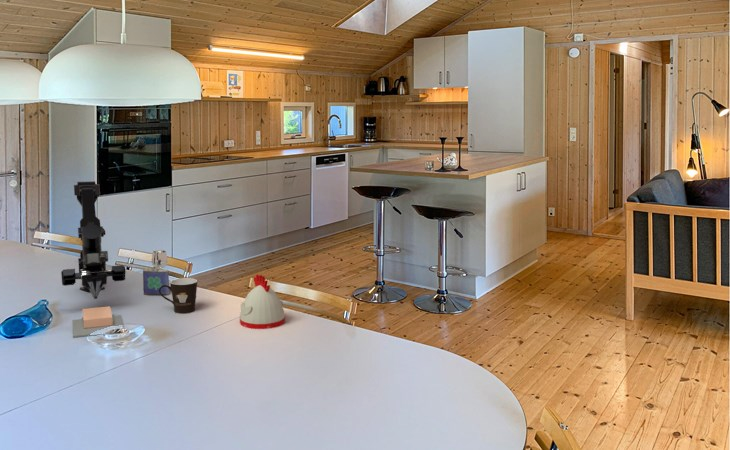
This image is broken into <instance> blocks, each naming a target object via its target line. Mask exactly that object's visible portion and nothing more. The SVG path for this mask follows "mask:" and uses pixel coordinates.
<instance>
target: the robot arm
mask: <svg viewBox="0 0 730 450" xmlns="http://www.w3.org/2000/svg"><path fill="white" fill-rule="evenodd" d="M76 183H77V184H73V192H74V193H73V194H74V196H76V200H77V202H78V204H79V205H80V206H81V214H82V218H81V219H80V220H79V227H77V235H78V239H80V241H81V242H82V243H81V246H82V250H81V252H80V253H79V254H80V255H79V257H80V258H77V259H78V261H77V263H78V272H76V268H67V269H62V270H61V272H60V273H61V284H62V286H65V287H66V286H74V285H75V284H76V283H77V282H76V281H77V280H81V285H82V287H79V290H82V291H83V292H87V293H90V294H91V296H92V297H93V299H98V297H99V294H100V291H101V290H105V289H106V287H105V286H104V285H106V284H107V283H108V278H107V277H111V278H112V281H113V282H121V281H125V280H126V272H127V271H126V267H125V265H123V264H119V265H112V266H111V269H109V270H107V269H106V268H107V267H106V262H107V263H108V262H109V255H108V254H109V253H108V250H102V238H104V237H105V236H106V230H105V229H104V227H103V226H101V220H100V219H99V218H98V217H97V216H96V201H97V200H98V197H99V196H98V195H100V194H101V191H100V184H99V183H96V181H94V180H93V181H90V180H89V181H77V182H76Z"/></svg>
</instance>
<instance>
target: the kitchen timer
mask: <svg viewBox="0 0 730 450" xmlns="http://www.w3.org/2000/svg"><path fill="white" fill-rule="evenodd" d="M268 281H269V280H266V276H265V275H262V274H256V275H255V277H253V282H254V285H255V287H253V288H252V289H251V290H250V291H249V292H248V294H247V295H246V296H245V298H244V300H243V302H241V304H240V312H239V313H240V314H239V324H240V326H242V327H244V328H247V329H253V330H268V329H274V328H277V327H281V326H282V325H284V324H285V319H286V318H285V317H286V315H285V311H284V307H283V306H284V303H283V302H284V301H283V300H282V299H280V297H279V296H278V295H277V292H275V290H273V289H272V288H271V285H270V284H269V285H268Z"/></svg>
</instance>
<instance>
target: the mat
mask: <svg viewBox="0 0 730 450" xmlns="http://www.w3.org/2000/svg"><path fill="white" fill-rule="evenodd" d="M112 319H113V325H109V326H100V327H92V328H84V323H83V318H78V319H72V321H71V322H72V323H71V324H72V339H75V338H85V337H89V336H88V335H90V334H91V333H93V332H95V331H97V330H101V329H104V328H107V327H110V326H119V325H124V322H123V319H122V315H121V314H115V315H112Z"/></svg>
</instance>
